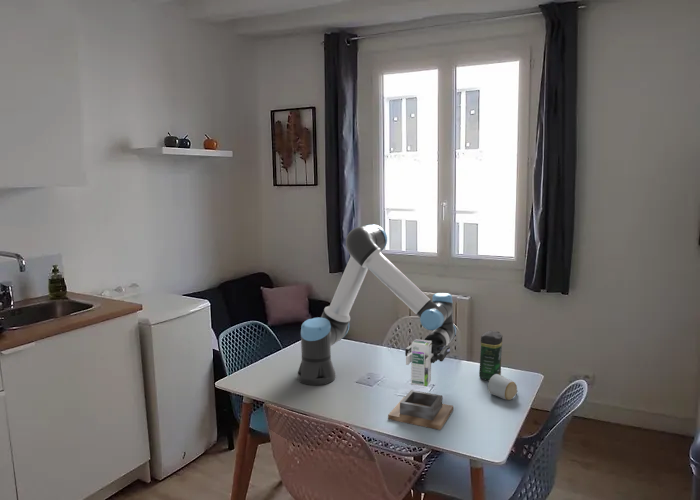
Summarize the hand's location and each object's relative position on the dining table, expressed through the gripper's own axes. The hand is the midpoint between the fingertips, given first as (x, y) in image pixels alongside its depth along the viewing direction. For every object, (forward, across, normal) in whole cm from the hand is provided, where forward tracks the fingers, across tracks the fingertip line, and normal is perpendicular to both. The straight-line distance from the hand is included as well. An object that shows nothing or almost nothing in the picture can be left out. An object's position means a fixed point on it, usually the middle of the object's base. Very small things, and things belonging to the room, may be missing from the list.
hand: (416, 362), depth 174 cm
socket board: (-5, 0, -20) cm, 21 cm away
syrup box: (-5, 0, -9) cm, 11 cm away
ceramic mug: (-32, -23, -21) cm, 45 cm away
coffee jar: (-48, -15, -21) cm, 54 cm away
